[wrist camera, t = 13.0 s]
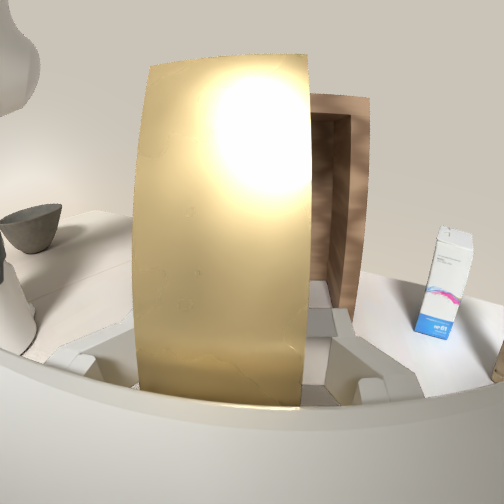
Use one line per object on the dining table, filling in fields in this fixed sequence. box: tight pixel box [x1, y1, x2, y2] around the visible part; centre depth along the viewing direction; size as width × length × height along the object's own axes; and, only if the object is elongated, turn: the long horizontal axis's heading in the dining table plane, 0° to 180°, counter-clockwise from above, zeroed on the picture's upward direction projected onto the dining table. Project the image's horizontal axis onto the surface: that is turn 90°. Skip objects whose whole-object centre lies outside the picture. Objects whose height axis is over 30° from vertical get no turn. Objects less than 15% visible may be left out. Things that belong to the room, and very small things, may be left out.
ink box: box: [414, 226, 474, 340], centre depth 32 cm, size 9×5×12 cm, turn 142°
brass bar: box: [132, 54, 312, 407], centre depth 8 cm, size 4×23×4 cm
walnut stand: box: [309, 93, 370, 323], centre depth 38 cm, size 20×14×26 cm
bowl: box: [0, 204, 62, 253], centre depth 61 cm, size 19×19×10 cm
